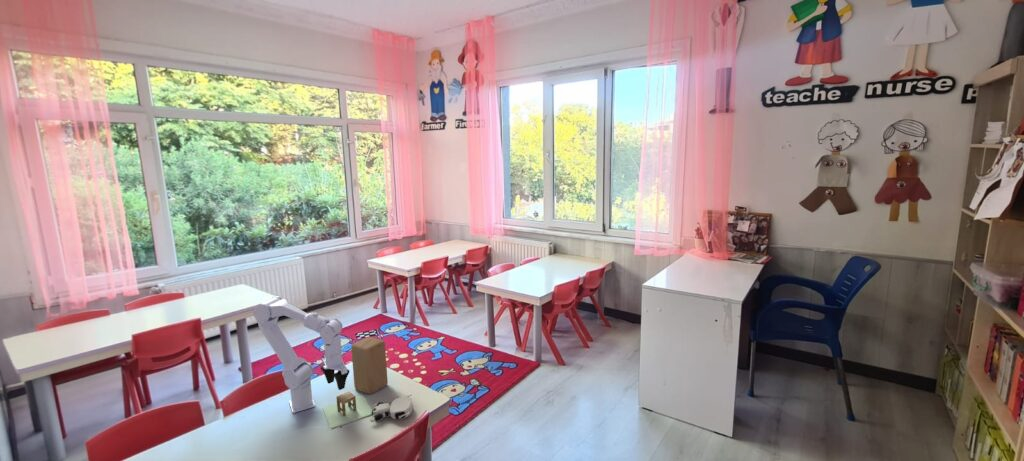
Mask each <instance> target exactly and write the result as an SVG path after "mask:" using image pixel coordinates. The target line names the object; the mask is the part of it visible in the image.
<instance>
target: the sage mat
mask: <svg viewBox="0 0 1024 461" xmlns="http://www.w3.org/2000/svg"><path fill="white" fill-rule="evenodd" d="M355 397H356V410H357V411H354V410H353V406H352V405H351V407H348V403H345V410H346V416H343V412H342V411H340V412H338V410H337V402H336V403H333V404H330V405H327V406H323V407H322V411H323V412H324V415H325V417H326V420H327V423H328V424H329V428H330V429H331V430H333V429H335V428H338V427H341V426H343V425H346V424H350V423H352V422H354V421H358V420H360V419H363V418H364V419H365V418H366V417H369V416H373V415H372V410H373V409H372V408H371V407H370V405H369V404H368V402H367V400H366V398H365V397H364V395H362V394H361V395H359V396H355ZM351 403H352V404H353V400H352V401H351ZM340 407H341V408H342V404H341V403H340Z"/></svg>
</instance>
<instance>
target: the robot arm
mask: <svg viewBox="0 0 1024 461" xmlns="http://www.w3.org/2000/svg"><path fill="white" fill-rule="evenodd" d="M252 315H253V317H254V319H255V320H256V322H257V324H258V328H259V330H260V331H261V333H262V335H263V336H264V337H265V339H266V341H267V342H268V344H269V345H270V347H271V348H272V350H273V351H274V353H275V355H276V356H277V358H278V359H279V361H280V362H281V364H282V366H283V370H282V374H281V376H282V377H283V380H284V384H285V386H286V387H287V388H288V389H289V391H290V392H289V393H290V400H289V403H288V404H289V406H290V409H291V413H292V414H295V413H298V412H301V411H304V410H307V409H308V410H309V409H311V408H314V407H316V403H315V401H314V398H313V392H312V383H311V380H312V377H313V375H314V374H315V371H314V367H313V366H312V365H311V363H309V362H308V361H307V360H306V359H305V358H302V357H298V355H297V353H296V352H295V350H294V348H293V347H292V345H291V344H290V342H289V340H288V339H287V337H286V336H285V335H284V334H283V332H282V330H281V328H280V327H279V325H278V320H279V317H282V316H285V317H287V318H290V319H293V320H296V321H299V322H301V323H302V324H303V326H304V327H305V328H306V329H309V330H311V331H313V332H316V333H319V336H320V337H321V339H322V343H323V345H324V356H325V357H324V358H321V363H322V364H323V365H321V366H320V367H319V368H320V370H321V372H323V374H324V377H325V379H326V383H327V384H329V385H330V384H332V383H334V382H335V381H336V386H337V389H338V390H339V391H341V390H343V389H345V388H346V383H347V378H348V376H349V374H350V370H349V369H348V367H346V364H345V363H344V361H343V354H342V344H341V343H342V341H341V332H342V330H343V324H342V322H341V321H340V320H339V319H338V318H328V317H324V316H322V315H319V313H318V312H316V311H315V312H309V313H307V312H305V311H304V310H302V309H301V308H298V307H296V306H294V305H292V304H291V303H288V301H287V299H285V298H282V297H281V296H272V297H271V298H269V299H267V300H266V301H263V302H261V303H259V304H257V305H255V307H254V310H253V313H252ZM335 371H337V372H335Z"/></svg>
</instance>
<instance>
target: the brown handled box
mask: <svg viewBox="0 0 1024 461" xmlns="http://www.w3.org/2000/svg"><path fill="white" fill-rule="evenodd" d="M356 397H357V396H356V395H355V394H353V393H352V392H351V391H346V392H344V393H342V394H339V395H336V398H335V399H336V403H337V410H338V412H340V411H342V412H343V416H346V410H345V403H348V407H351V405H352V406H353V410H354V411H357V410H356ZM352 400H353V404H352V403H351V401H352ZM340 403H341V404H342V408H341V407H340Z"/></svg>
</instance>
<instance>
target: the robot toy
mask: <svg viewBox="0 0 1024 461" xmlns="http://www.w3.org/2000/svg"><path fill="white" fill-rule="evenodd" d="M411 396H413V395H412V394H409V395H407V396H401V397H396V398H395V399H394V400H393V401H392V402H391V403H387V402H386V403H385V402H381V401H379V402H376V403H374V404H373V409H371V410H372V415H371V416H373V417H371V418H370V419H369V421H370V423H373V422H379V421H381V420H382V419H384V418H387V417H391V418H392V419H394V420H400V419H401V420H403V419H406V418H407V417H408V416H410V415H411V414H412V411H413V409H414V406H413V400H412V398H411Z"/></svg>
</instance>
